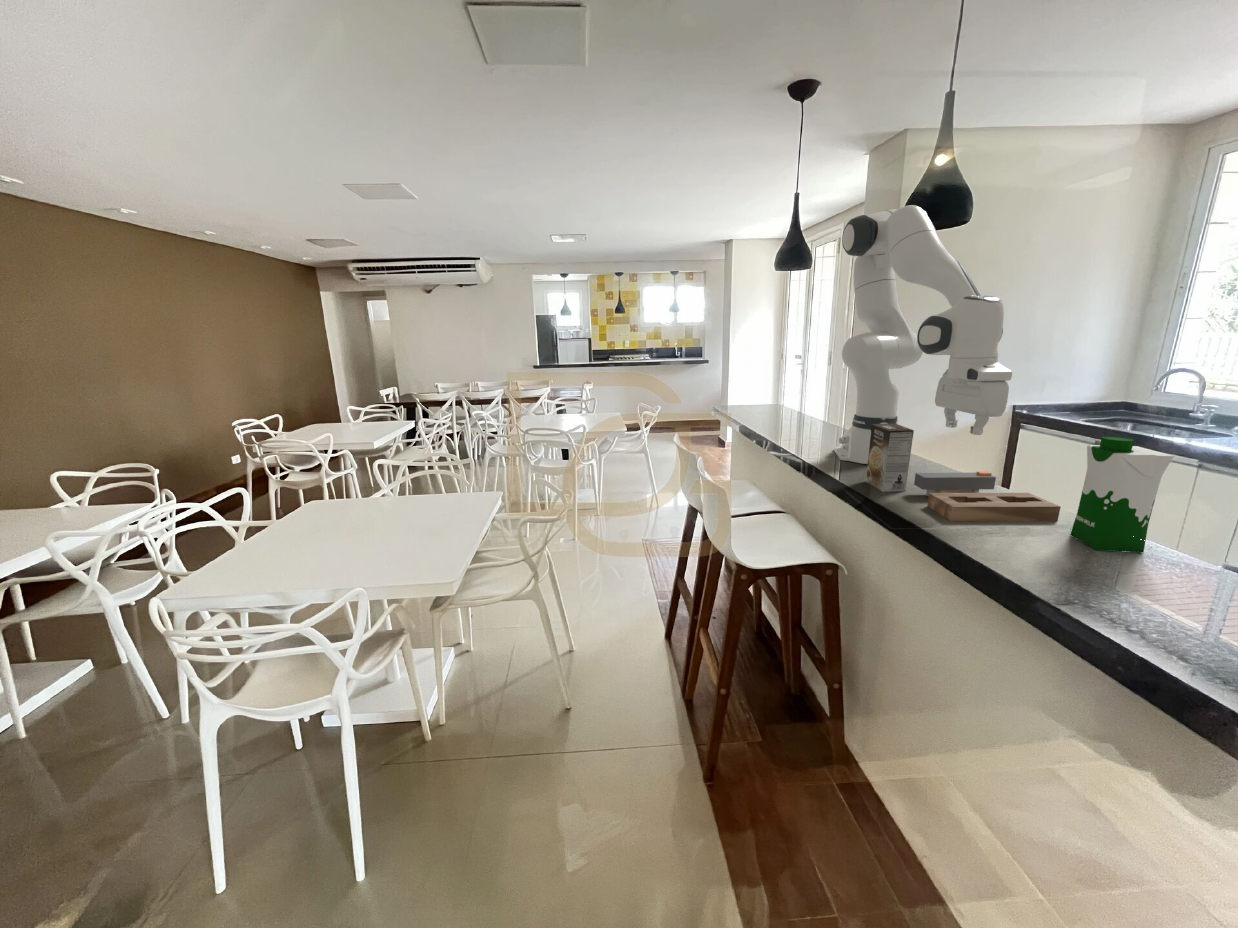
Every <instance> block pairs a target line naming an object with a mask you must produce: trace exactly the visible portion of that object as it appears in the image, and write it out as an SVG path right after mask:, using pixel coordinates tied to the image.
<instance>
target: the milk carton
mask: <svg viewBox="0 0 1238 928" xmlns="http://www.w3.org/2000/svg"><path fill="white" fill-rule="evenodd" d="M1134 442H1135V440H1134V439H1133V438H1129V437H1123V436H1114V435H1113V436H1111V435H1109V436H1107V435H1105V436H1101V438H1100V442H1099V444H1091V445H1090V444H1088V445H1087V446H1086V449H1087V450H1086V451H1087V452H1086V456H1087V459H1086V461H1087V462H1086V464H1087V466H1086V467H1087V468H1086V473H1085V477H1084V482H1083V486H1082V491H1081V495H1080V500H1079V503H1078V508H1077V513H1076V515H1075V519H1074V522H1073V525H1072V528H1071V530H1070V536H1071V537H1073V538H1075V539H1076V538H1077V539H1076V540H1078V541H1080V542H1081V541H1082V543H1083V544H1085V545H1087V546H1088V545H1089V547H1090V548H1092V549H1094V550H1095V549H1096V550H1095V551H1101V550H1102V551H1103V550H1104V551H1105V552H1106V551H1107V552H1121V551H1130V552H1129V553H1141V554H1142V553H1144V551H1145V548H1146V547H1145V546H1146V539H1147V533H1148V530H1149V529H1148V528H1149V524H1150V519H1151V516H1152V512H1153V509H1154V504H1155V503H1156V502H1155V501H1156V497H1157V494H1158V491H1159V486H1160V484H1161V479H1162V477H1163V475H1164V473H1165V471H1167V468H1168V466H1169V465H1170V463H1171V462H1172V460H1173V458H1174V455H1171V454H1169V453H1163V452H1161V451H1156V450H1153V449H1149V448H1146V447H1142V446H1137V445H1134ZM1133 536H1134V537H1133ZM1140 539H1142V540H1140ZM1144 540H1145V541H1144Z"/></svg>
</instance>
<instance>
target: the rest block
mask: <svg viewBox="0 0 1238 928" xmlns="http://www.w3.org/2000/svg"><path fill="white" fill-rule="evenodd" d="M935 493H972V489H957V490H935Z"/></svg>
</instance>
